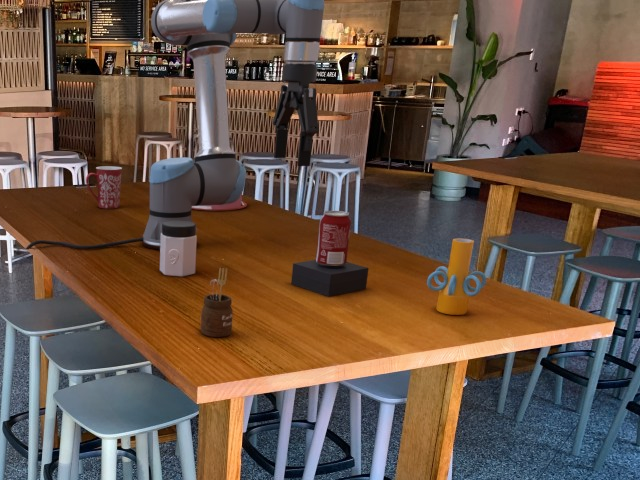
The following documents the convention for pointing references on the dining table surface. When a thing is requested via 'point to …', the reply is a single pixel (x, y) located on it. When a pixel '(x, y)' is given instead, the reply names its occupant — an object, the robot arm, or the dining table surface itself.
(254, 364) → the dining table surface
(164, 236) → the jar
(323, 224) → the soda can
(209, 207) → the cake
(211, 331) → the utensil holder
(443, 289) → the cylinder
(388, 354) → the dining table surface
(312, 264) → the pad top
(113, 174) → the mug
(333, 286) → the pad bottom
